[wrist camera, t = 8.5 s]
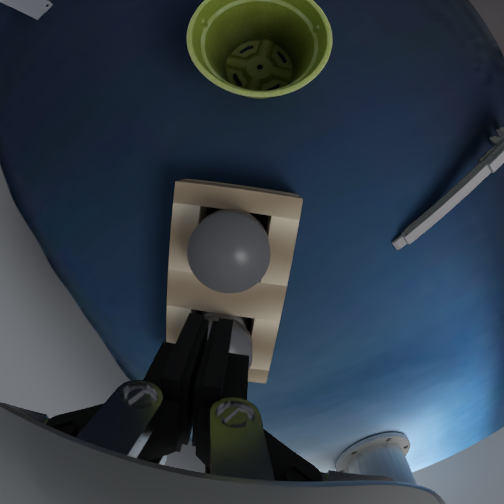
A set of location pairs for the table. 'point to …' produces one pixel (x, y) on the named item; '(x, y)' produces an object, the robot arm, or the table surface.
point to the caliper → (455, 192)
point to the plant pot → (259, 44)
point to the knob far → (235, 333)
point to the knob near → (229, 251)
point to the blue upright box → (29, 6)
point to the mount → (246, 302)
